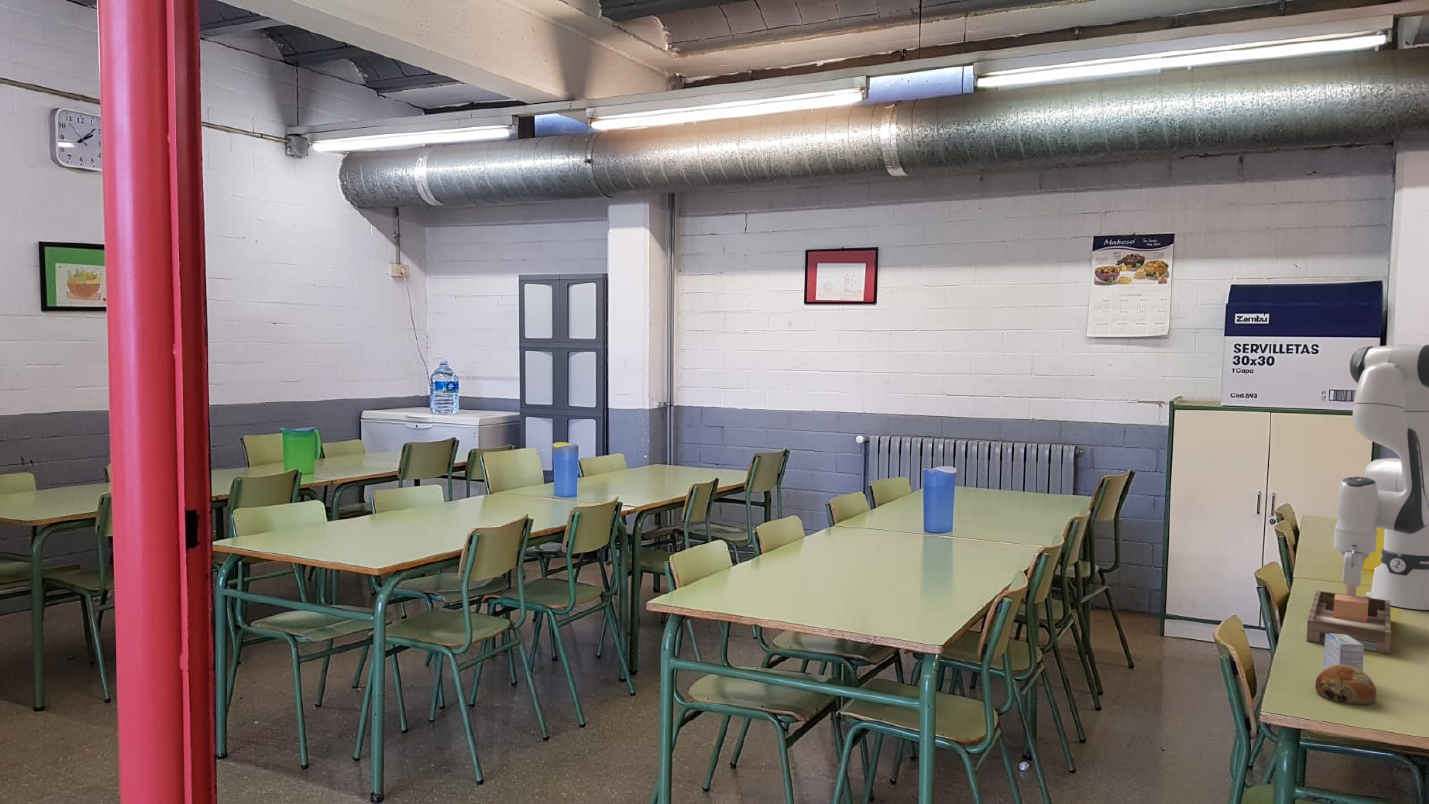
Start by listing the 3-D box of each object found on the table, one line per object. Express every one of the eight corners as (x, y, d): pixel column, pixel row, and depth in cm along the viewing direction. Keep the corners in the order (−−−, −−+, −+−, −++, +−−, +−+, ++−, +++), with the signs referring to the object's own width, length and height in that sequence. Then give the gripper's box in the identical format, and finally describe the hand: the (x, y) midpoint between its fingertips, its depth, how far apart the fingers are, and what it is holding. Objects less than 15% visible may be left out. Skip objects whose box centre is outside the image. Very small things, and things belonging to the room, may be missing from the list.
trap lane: (1315, 609, 260) (1316, 590, 260) (1388, 620, 252) (1389, 600, 251) (1306, 641, 231) (1307, 619, 230) (1389, 654, 222) (1390, 632, 221)
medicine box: (1362, 688, 199) (1365, 645, 198) (1338, 685, 199) (1340, 643, 199) (1345, 675, 206) (1348, 634, 206) (1322, 673, 207) (1324, 632, 207)
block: (1334, 611, 249) (1335, 593, 248) (1367, 616, 245) (1368, 598, 245) (1333, 617, 243) (1334, 599, 243) (1367, 622, 239) (1368, 604, 239)
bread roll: (1379, 724, 189) (1397, 686, 189) (1337, 703, 187) (1355, 665, 187) (1338, 705, 199) (1355, 669, 199) (1298, 685, 197) (1316, 649, 197)
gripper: (1369, 550, 237) (1365, 607, 238) (1370, 538, 254) (1366, 591, 255) (1338, 547, 241) (1334, 603, 242) (1341, 535, 258) (1337, 587, 258)
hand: (1351, 597), depth 248 cm, fingers closed
